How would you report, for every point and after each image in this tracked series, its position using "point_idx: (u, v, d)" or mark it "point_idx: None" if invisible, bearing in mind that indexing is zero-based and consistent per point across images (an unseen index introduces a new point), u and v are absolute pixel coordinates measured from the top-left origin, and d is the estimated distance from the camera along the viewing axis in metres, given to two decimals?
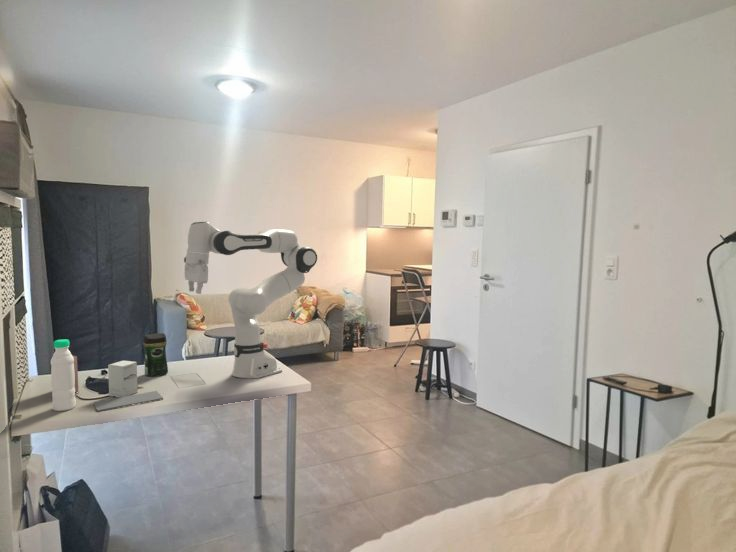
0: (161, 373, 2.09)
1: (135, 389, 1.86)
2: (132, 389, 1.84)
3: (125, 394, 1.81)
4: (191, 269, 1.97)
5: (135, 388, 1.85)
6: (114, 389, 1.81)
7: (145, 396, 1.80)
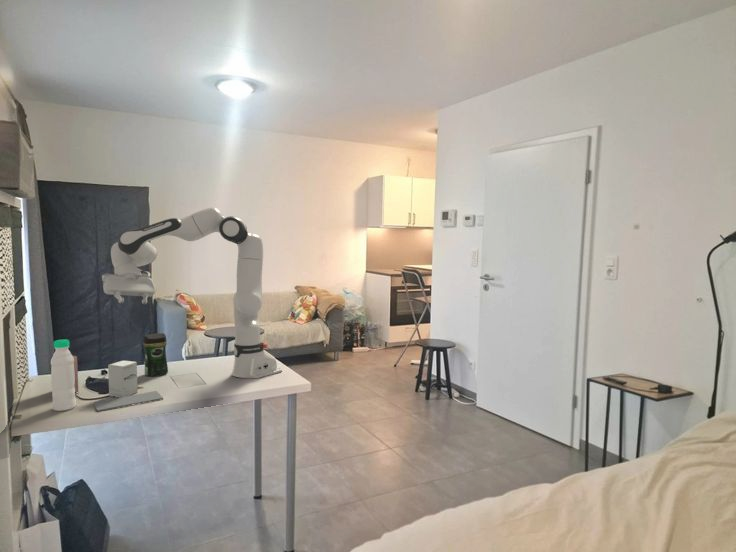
0: (161, 373, 2.09)
1: (135, 389, 1.86)
2: (132, 389, 1.84)
3: (125, 394, 1.81)
4: None
5: (135, 388, 1.85)
6: (114, 389, 1.81)
7: (145, 396, 1.80)
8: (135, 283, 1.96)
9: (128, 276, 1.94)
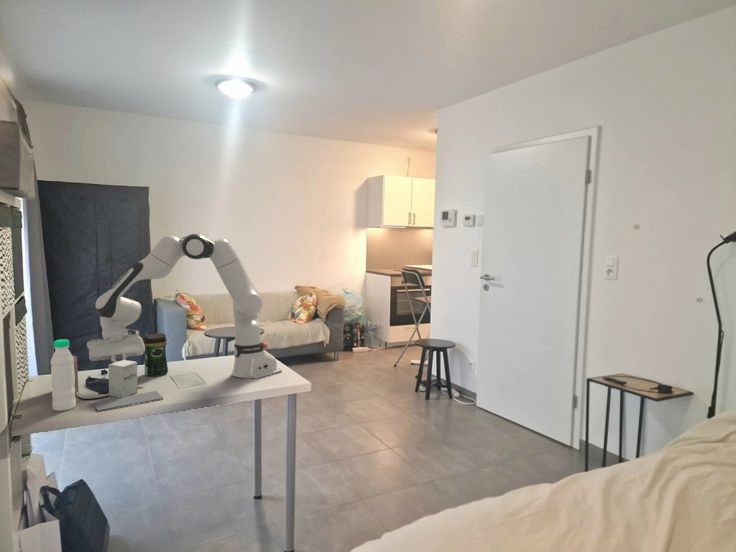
0: (161, 373, 2.09)
1: (135, 389, 1.85)
2: (132, 388, 1.84)
3: (125, 394, 1.81)
4: None
5: (135, 388, 1.85)
6: (114, 389, 1.81)
7: (145, 396, 1.80)
8: (122, 344, 1.92)
9: (113, 339, 1.91)
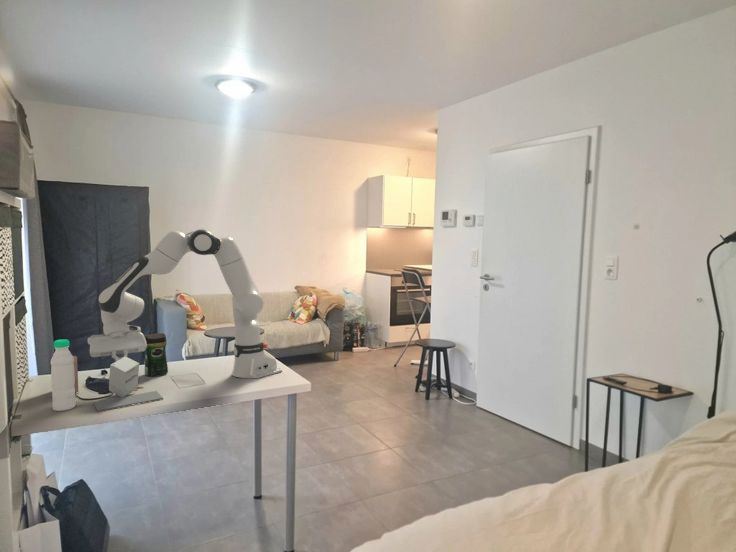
0: (161, 373, 2.09)
1: (135, 386, 1.85)
2: (132, 387, 1.83)
3: (125, 394, 1.81)
4: None
5: (135, 386, 1.85)
6: (114, 387, 1.80)
7: (145, 396, 1.80)
8: (123, 340, 1.88)
9: (114, 334, 1.87)
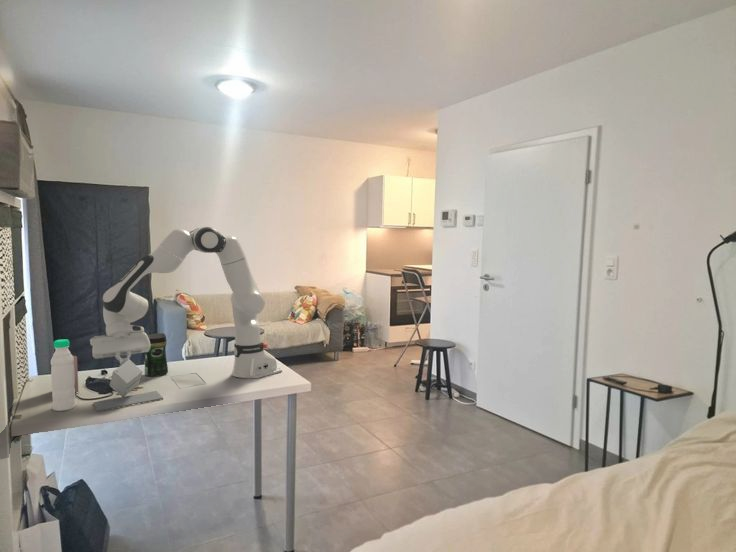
0: (161, 373, 2.09)
1: (136, 385, 1.84)
2: (133, 387, 1.82)
3: (125, 394, 1.80)
4: None
5: (136, 385, 1.84)
6: (115, 387, 1.78)
7: (145, 396, 1.80)
8: (126, 341, 1.84)
9: (117, 335, 1.82)
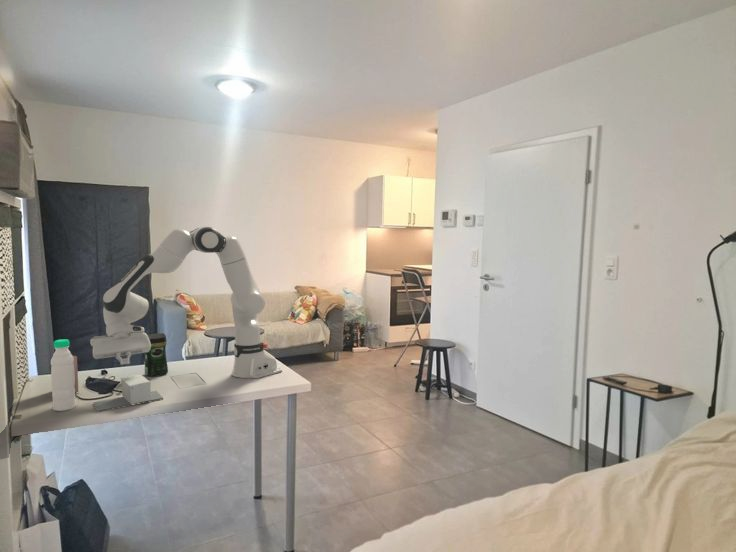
0: (161, 373, 2.09)
1: None
2: None
3: None
4: None
5: None
6: (123, 387, 1.78)
7: None
8: (127, 341, 1.83)
9: (118, 335, 1.82)
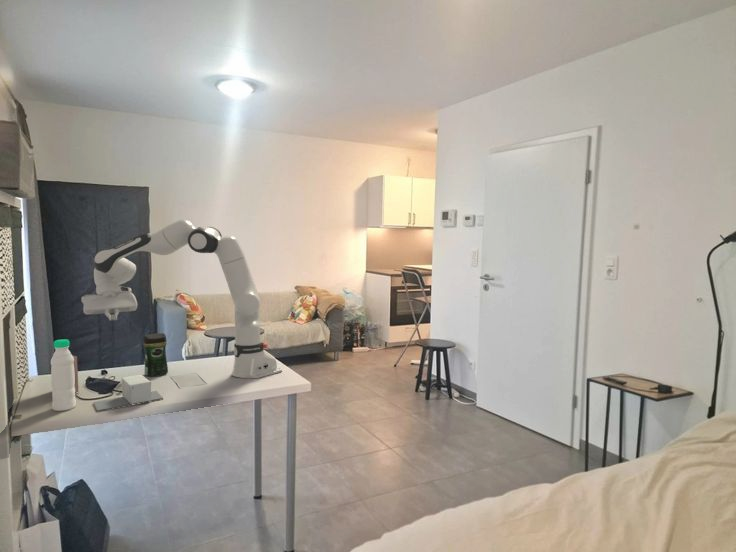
0: (161, 373, 2.09)
1: None
2: None
3: None
4: None
5: None
6: (123, 386, 1.78)
7: None
8: (115, 300, 2.00)
9: (107, 294, 1.99)
